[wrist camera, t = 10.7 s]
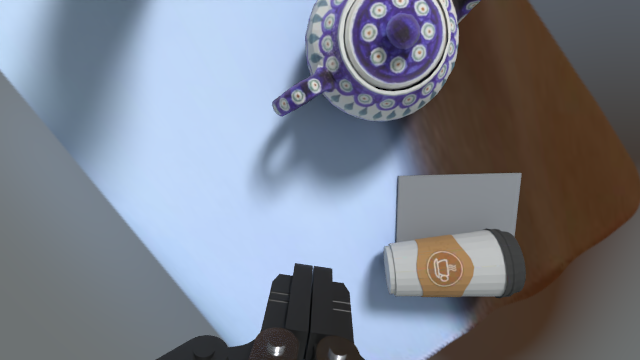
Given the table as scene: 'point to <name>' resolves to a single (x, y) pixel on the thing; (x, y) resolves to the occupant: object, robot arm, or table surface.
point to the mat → (456, 204)
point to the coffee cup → (456, 265)
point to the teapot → (378, 55)
